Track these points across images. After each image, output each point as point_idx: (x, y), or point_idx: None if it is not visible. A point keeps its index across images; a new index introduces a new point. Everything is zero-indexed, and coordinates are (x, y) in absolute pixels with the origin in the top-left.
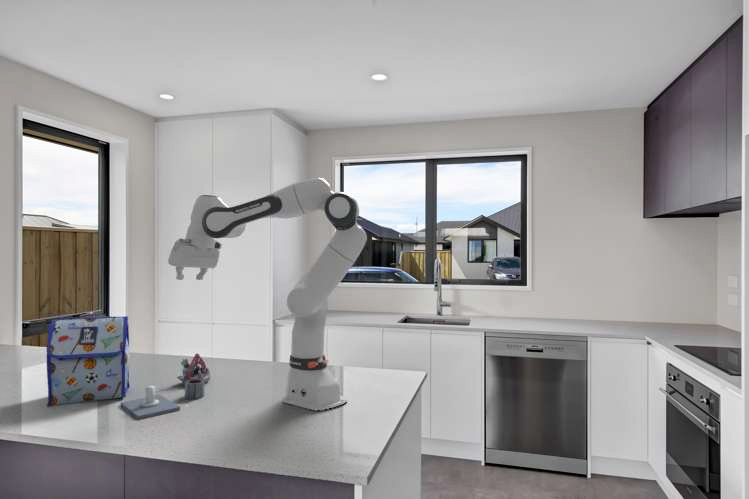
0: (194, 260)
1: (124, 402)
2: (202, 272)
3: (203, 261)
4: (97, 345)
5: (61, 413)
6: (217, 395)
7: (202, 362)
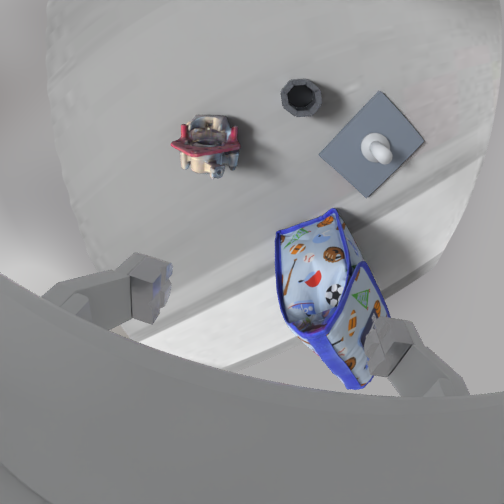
0: (391, 491)
1: (366, 192)
2: (103, 304)
3: (109, 441)
4: (373, 303)
5: (393, 250)
6: (283, 55)
7: (181, 145)
